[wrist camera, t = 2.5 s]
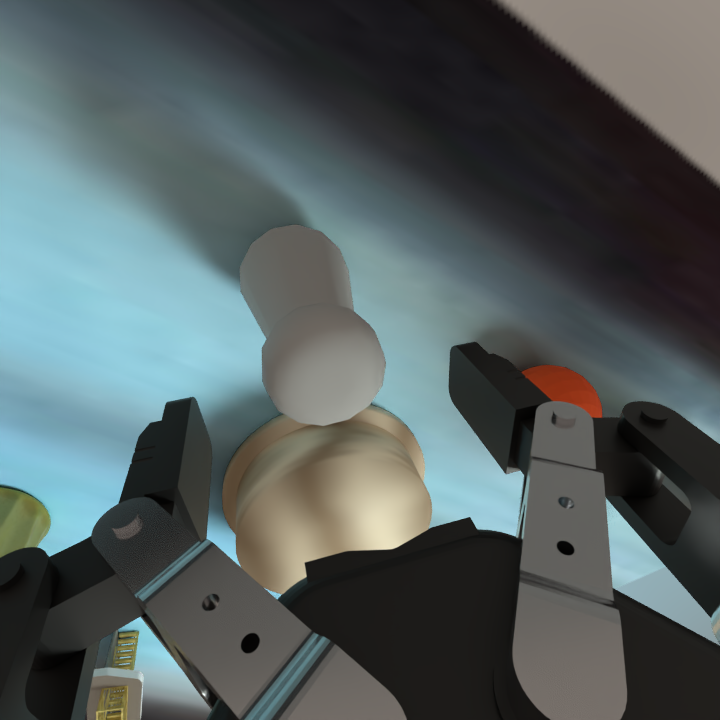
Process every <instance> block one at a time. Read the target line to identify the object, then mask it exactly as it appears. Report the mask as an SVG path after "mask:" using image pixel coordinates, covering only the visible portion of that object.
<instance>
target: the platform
mask: <svg viewBox="0 0 720 720" xmlns="http://www.w3.org/2000/svg"><path fill="white" fill-rule="evenodd" d="M135 636H137V637H136V638H135ZM138 636H139V631H137V632H136V631H135V632H126V633H123V632H122V633H119V638H121V639H119V640H118V630H116V631H114V632H113V637H112V641H111V645H110V649H109V653H108V657H107V661H106V665H105V668H99V669H94V673H93V678H92V683H91V688H90V693H89V698H88V703H87V720H140V718H141V709H142V693H143V677H144V676H143V674H142V673H141V672H140V671H134V663H135V656H136V650H137V643H138ZM124 637H134V638H130V639H122V638H124ZM128 643H133V645H124V646H121V645H122V644H128ZM134 643H135V644H134ZM118 644H120V646H118ZM122 650H132V651H128V652H120V651H122ZM133 650H134V651H133ZM118 651H119V653H118ZM127 656H131V658H123V659H119V658H120V657H127ZM122 663H130V664H128V665H119V664H122ZM118 665H119V666H118ZM127 669H129V670H127ZM117 690H119V692H117ZM120 690H121V692H120ZM122 690H124V691H123V692H122ZM115 691H116V693H114V692H115ZM122 696H123V697H124V698H121V697H122ZM116 697H117V699H115V698H116ZM118 697H120V699H118ZM113 698H114V700H113ZM120 703H121V705H120V706H119V704H120ZM114 704H116V706H114ZM117 704H118V706H117ZM112 705H113V706H112ZM119 710H121V712H118V713H111V712H112V711H119ZM109 712H110V714H108V713H109Z"/></svg>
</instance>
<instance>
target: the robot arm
mask: <svg viewBox="0 0 720 720" xmlns="http://www.w3.org/2000/svg"><path fill="white" fill-rule="evenodd" d="M449 393H450V397H451V400H452V402H453V404H454V405H455V406H456V408H457V409H458V410H459V412H460V413H461V415H462V416H463V417H464V419H465V420H466V421H467V423H468V424H469V425H470V427H471V428H472V429H473V431H474V432H475V433H476V435H477V436H478V437H479V439H480V440H481V441H482V443H483V444H484V445H485V447H486V448H487V449H488V451H489V452H490V453H491V455H492V456H493V457H494V459H495V460H496V461H497V463H498V464H499V465H500V467H501V468H502V469H503V471H504V472H505V473H506V474H509V473H513V472H516V471H520V470H521V472H522V473H523V474H524V479H523V486H522V494H521V502H520V510H519V517H518V525H517V533H516V537H515V536H512V535H509V534H506V533H502V532H497V531H492V530H477V529H476V527H475V525H474V523H473V522H472V520H471V518H470V517H468V518H465V519H461V520H457V521H454V522H450V523H447V524H443V525H439V526H436V527H432V528H430V529H428V530H426V531H425V532H423V533H421V534H420V535H418V536H416V537H414V538H413V539H411V540H409V541H407V542H406V543H404V544H402V545H400V546H399V547H397V548H394V549H387V550H357V551H345V552H341V553H338V554H334V555H330V556H327V557H323V558H319V559H316V560H312V561H309V562H305V569H306V576H307V577H305V578H304V579H302V580H300V581H298V582H297V583H296V584H294V585H293V586H292V587H290V588H289V589H288V590H287V591H286V592H285V593H283V594H282V595H281V596H280V597H279V598H278V599H276V598H274V597H273V596H272V595H271V594H270V593H269V592H268V591H267V590H265V589H264V588H263V587H262V586H261V585H260V584H259V583H258V582H256V581H255V580H254V579H253V578H252V577H251V576H250V575H249V574H247V573H246V572H245V571H244V570H243V569H242V568H241V567H240V566H239V565H237V564H236V563H235V562H234V561H233V560H232V559H231V558H230V557H228V556H227V555H226V554H225V553H224V552H223V551H222V550H221V549H219V548H218V547H217V546H216V545H215V544H214V543H213V542H211V541H210V540H208V539H206V536H207V522H208V508H209V494H210V480H211V466H212V448H211V442H210V438H209V435H208V432H207V429H206V426H205V423H204V420H203V418H202V415H201V412H200V409H199V406H198V403H197V401H196V399H195V398H194V397H190V398H185V399H180V400H175V401H170V402H167V403H166V405H165V409H164V413H163V417H162V421H157V422H152V423H150V424H149V425H148V426H147V427H146V429H145V430H144V431H143V432H142V433H141V434H140V436H139V438H138V441H137V444H136V448H135V453H134V454H133V458H132V464H130V467H129V471H128V474H127V477H126V481H125V484H124V487H123V491H122V494H121V497H120V501H119V504H117V505H116V506H114V507H112V508H111V509H110V510H108V511H107V512H106V513H105V514H104V515H103V516H102V517H101V518H100V519H99V520H98V522H97V523H96V525H95V526H94V528H93V531H92V536H90V537H89V538H87V539H85V540H83V541H81V542H79V543H77V544H75V545H73V546H71V547H69V548H67V549H65V550H63V551H61V552H59V553H57V554H55V555H52V556H50V557H49V556H48V555H47V554H46V552H45V551H44V550H42V549H40V548H37V547H27V548H22V549H18V550H15V551H13V552H10V553H8V554H6V555H4V556H2V557H1V558H0V720H84V718H85V713H86V708H87V703H88V698H89V693H90V688H91V683H92V678H93V673H94V668H95V663H96V658H97V653H98V648H99V643H100V640H101V639H102V638H104V637H106V636H108V635H109V634H111V633H113V632H114V631H116V630H118V629H120V628H121V627H123V626H125V625H126V624H128V623H130V622H131V621H133V620H135V619H137V618H138V617H141V618H142V619H143V621H144V622H145V623H146V624H147V626H148V627H149V628H150V629H151V631H152V632H153V633H154V634H155V636H156V637H157V638H158V640H159V641H160V642H161V643H162V645H163V646H164V647H165V648H166V650H167V651H168V652H169V654H170V655H171V656H172V657H173V659H174V660H175V661H176V662H177V664H178V665H179V666H180V668H181V669H182V670H183V672H184V673H185V674H186V676H187V677H188V679H189V680H190V681H191V683H192V684H193V686H194V687H195V688H196V690H197V691H198V693H199V694H200V695H201V697H202V698H203V699H204V700H205V702H206V703H207V704H208V706H209V707H210V708H211V709H212V711H211V712H210V714H209V716H208V718H207V720H720V646H719V645H717V644H716V643H714V642H712V641H710V640H708V639H706V638H705V637H703V636H701V635H699V634H697V633H695V632H693V631H691V630H690V629H687V628H686V627H684V626H682V625H680V624H679V623H677V622H675V621H673V620H671V619H669V618H667V617H666V616H664V615H662V614H660V613H658V612H656V611H654V610H652V609H651V608H649V607H647V606H645V605H643V604H641V603H640V602H638V601H636V600H634V599H632V598H630V597H628V596H627V595H625V594H623V593H621V592H619V591H617V590H615V589H614V588H612V575H611V562H610V550H609V537H608V524H607V511H606V499H605V497H606V498H607V499H608V501H609V502H610V503H611V504H612V505H613V506H614V507H615V509H616V510H617V511H618V512H619V513H620V514H621V515H622V517H623V518H624V519H625V520H626V521H627V522H628V523H629V525H630V526H631V527H632V528H633V529H634V530H635V532H636V533H637V534H638V535H639V536H640V537H641V538H642V540H643V541H644V542H645V543H646V544H647V545H648V546H649V548H650V549H651V550H652V551H653V552H654V553H655V554H656V556H657V557H658V558H659V559H660V560H661V561H662V562H663V564H664V565H665V566H666V567H667V568H668V569H669V570H670V571H671V573H672V574H673V575H674V576H675V577H676V578H677V580H678V581H679V582H680V583H681V584H682V585H683V586H684V587H685V589H686V590H687V591H688V592H689V593H690V594H691V596H692V597H693V598H694V599H695V600H696V601H697V602H698V604H699V605H700V606H701V607H702V608H703V609H704V610H705V612H706V613H707V614H708V615H709V616H710V617H711V625H712V629H713V632H714V635H715V637H716V638H717V640H718V642H719V644H720V444H719V443H717V442H716V441H714V440H713V439H712V438H710V437H709V436H708V435H706V434H705V433H704V432H702V431H701V430H700V429H698V428H697V427H696V426H694V425H693V424H691V423H690V422H689V421H687V420H686V419H685V418H683V417H682V416H681V415H679V414H678V413H676V412H675V411H673V410H672V409H670V408H668V407H665V406H663V405H660V404H656V403H652V402H645V401H637V402H632V403H629V404H627V405H625V406H624V408H623V410H622V413H621V417H620V418H594V417H591V416H590V414H589V413H588V412H587V411H585V410H584V409H582V408H581V407H579V406H577V405H574V404H571V403H567V402H561V401H552V400H551V399H550V398H549V397H548V396H547V395H546V394H544V393H543V392H542V391H541V390H540V389H539V388H538V387H537V386H536V385H535V384H533V383H532V382H531V381H530V380H529V379H528V378H526V377H525V375H524V374H522V373H521V372H520V371H518V370H517V368H516V367H515V366H514V365H513V364H512V363H510V362H509V361H508V360H507V359H504V358H502V357H500V356H498V355H496V354H488V353H487V352H486V351H485V350H484V349H483V348H482V347H481V346H480V345H479V344H478V343H476V342H471V343H466V344H461V345H456V346H453V347H452V348H451V351H450V366H449Z"/></svg>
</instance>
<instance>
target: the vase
mask: <svg viewBox="0 0 720 720" xmlns="http://www.w3.org/2000/svg"><path fill="white" fill-rule="evenodd" d="M50 524H51V521H50V516H49V513H48V511H47V509H46V508H45V507H44V505H43V504H42V503H41V502H39V501H38V500H37V499H35V498H34V497H32V496H30V495H28V494H26V493H24V492H21V491H17V490H13V489H8V488H2V487H0V558H1V557H2V556H4V555H6V554H8V553H10V552H13V551H15V550H18V549H22V548H27V547H37V546H38V544H39V543H40V542H41V540H42V539H43V538H44V537H45V536H46V534H47V533H48V531H49V528H50Z"/></svg>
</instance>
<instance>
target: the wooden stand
mask: <svg viewBox="0 0 720 720" xmlns="http://www.w3.org/2000/svg"><path fill="white" fill-rule="evenodd" d="M424 473H425V465H424V458H423V454H422V450H421V448H420V446H419V444H418V442H417V440H416V439H415V437H414V435H413V433H412V432H411V431H410V429H409V428H408V426H407V425H406V424H404V423H403V422H402V421H401V420H400V419H399V418H398V417H396V416H395V415H393V414H392V413H390V412H388V411H386V410H384V409H382V408H379V407H376V406H373V405H369V406H368V407H366V408H365V409H363V410H362V411H360V412H359V413H357V414H356V415H354V416H353V417H351V418H350V419H348V420H344V421H341V422H337V423H333V424H329V425H325V426H321V425H313V424H305V423H299V422H297V421H295V420H293V419H292V418H290V417H288V416H286V415H285V414H282V415H280V416H278V417H276V418H274V419H272V420H270V421H269V422H267V423H266V424H264V425H263V426H261V427H260V428H258V429H257V430H256V431H255V432H254V433H252V434H251V435H250V436H249V437H248V438H247V439H246V440H245V441H244V442H243V443H242V444H241V445H240V447H239V448H238V449H237V451H236V452H235V454H234V455H233V457H232V459H231V461H230V463H229V465H228V467H227V470H226V473H225V476H224V481H223V491H222V504H223V511H224V515H225V518H226V520H227V522H228V524H229V526H230V528H231V529H232V531H233V532H234V533H235V535H236V554H237V558H238V561H239V563H240V565H241V567H242V569H243V570H244V571H245V572H246V573H247V574H249V575H250V576H251V577H252V578H253V579H254V580H255V581H256V582H258V583H259V584H260V585H261V586H262V587H264V588H266V589H268V590H270V591H273V592H276V593H280V594H283V593H285V592H286V591H287V590H288V589H289V588H290V587H292V586H293V585H294V584H296V583H297V582H298V581H300V580H302V579H304V578H305V577H307V576H306V569H305V562H309V561H312V560H316V559H319V558H323V557H327V556H330V555H334V554H338V553H341V552H345V551H357V550H387V549H394V548H397V547H399V546H400V545H402V544H404V543H406V542H407V541H409V540H411V539H413V538H414V537H416V536H418V535H420V534H421V533H423V532H425V531H426V530H428V528H429V525H430V521H431V515H432V503H431V499H430V495H429V493H428V491H427V489H426V487H425V485H424V483H423V480H424Z"/></svg>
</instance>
